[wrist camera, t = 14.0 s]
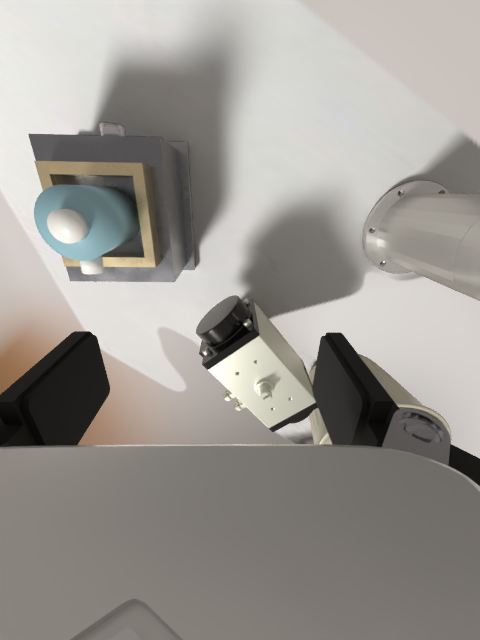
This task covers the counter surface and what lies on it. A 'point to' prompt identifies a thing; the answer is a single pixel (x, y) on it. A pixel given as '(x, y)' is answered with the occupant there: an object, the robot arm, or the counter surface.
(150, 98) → the counter surface
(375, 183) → the counter surface
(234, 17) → the counter surface
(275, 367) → the cream boxy piece
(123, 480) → the robot arm
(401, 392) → the canister
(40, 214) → the drain pump
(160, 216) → the grey box
